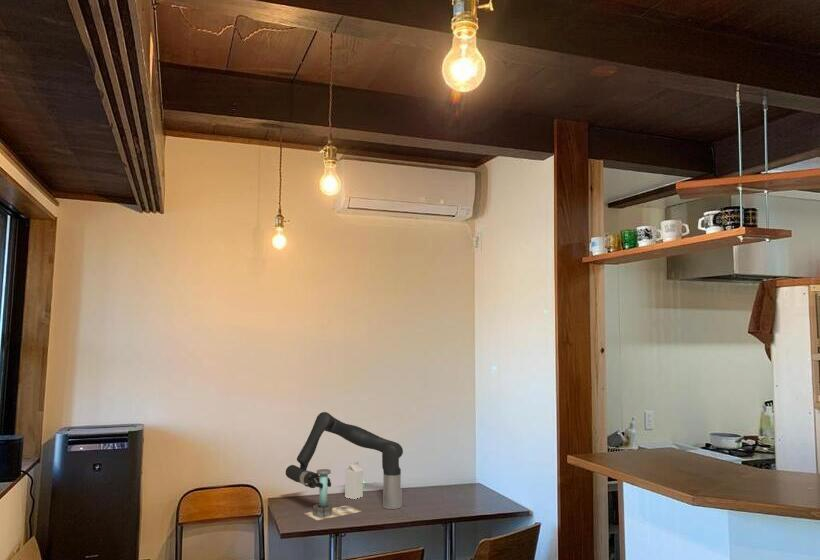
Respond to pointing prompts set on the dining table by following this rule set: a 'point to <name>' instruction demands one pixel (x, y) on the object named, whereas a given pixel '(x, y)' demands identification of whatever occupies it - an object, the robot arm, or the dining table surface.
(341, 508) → the eye board
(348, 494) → the milk carton
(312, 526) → the dining table surface
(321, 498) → the wheel peg
